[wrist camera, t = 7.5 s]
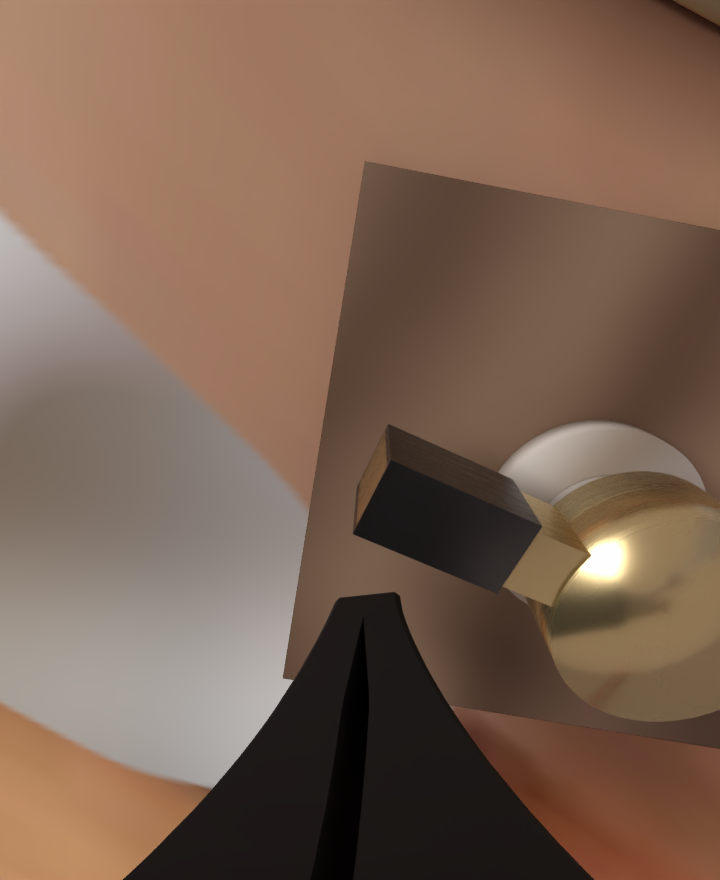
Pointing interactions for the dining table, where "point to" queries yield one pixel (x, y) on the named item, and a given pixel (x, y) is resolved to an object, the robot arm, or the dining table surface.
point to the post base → (508, 402)
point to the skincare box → (703, 8)
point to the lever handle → (571, 567)
